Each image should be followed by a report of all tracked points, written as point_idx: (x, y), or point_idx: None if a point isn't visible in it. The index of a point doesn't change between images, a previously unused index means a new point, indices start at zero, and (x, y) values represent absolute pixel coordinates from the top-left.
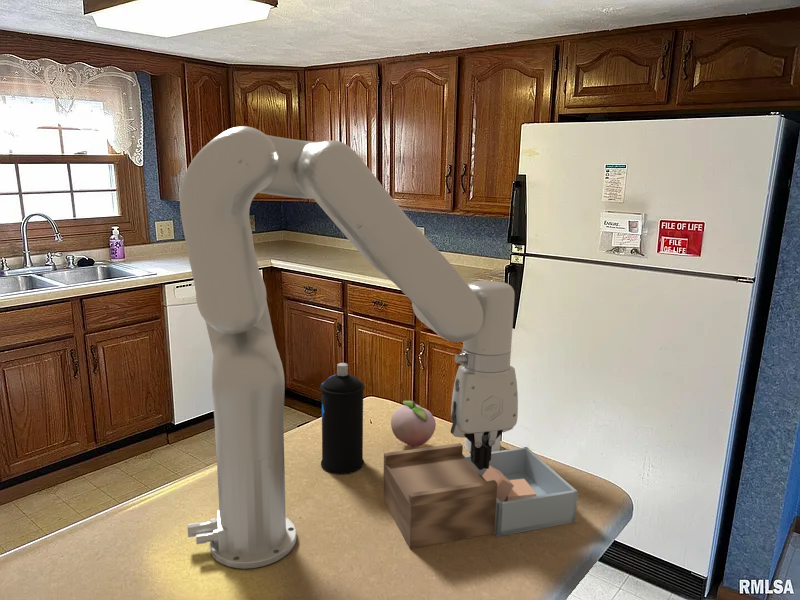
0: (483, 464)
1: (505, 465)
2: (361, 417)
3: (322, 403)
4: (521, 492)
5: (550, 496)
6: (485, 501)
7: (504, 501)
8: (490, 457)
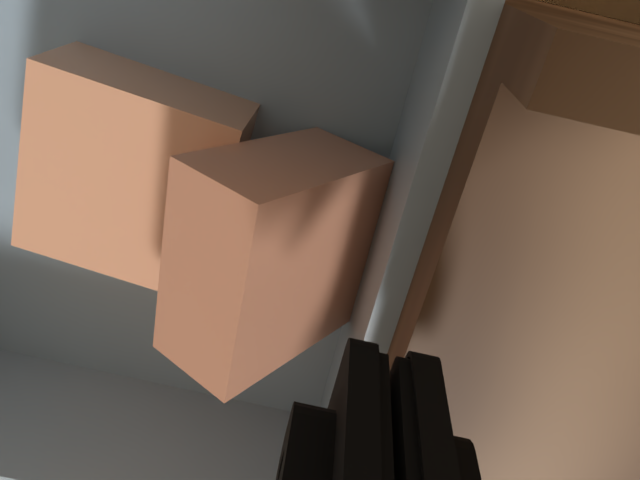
0: (406, 383)
1: (39, 403)
2: None
3: None
4: (121, 126)
5: None
6: (617, 31)
7: None
8: (296, 425)
